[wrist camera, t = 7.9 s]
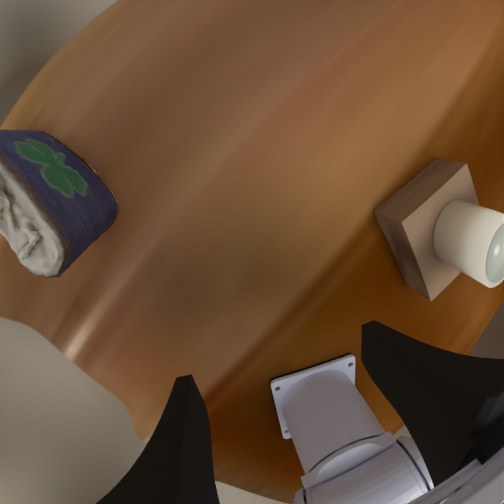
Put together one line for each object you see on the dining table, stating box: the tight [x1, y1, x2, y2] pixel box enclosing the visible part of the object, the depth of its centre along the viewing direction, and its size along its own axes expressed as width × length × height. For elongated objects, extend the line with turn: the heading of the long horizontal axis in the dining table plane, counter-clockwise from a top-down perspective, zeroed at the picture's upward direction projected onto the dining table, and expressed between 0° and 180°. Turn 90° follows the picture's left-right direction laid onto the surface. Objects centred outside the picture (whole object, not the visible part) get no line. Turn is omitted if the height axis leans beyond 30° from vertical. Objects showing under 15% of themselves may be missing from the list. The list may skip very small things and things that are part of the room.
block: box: [373, 159, 479, 301], centre depth 21 cm, size 8×8×4 cm
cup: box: [433, 200, 504, 288], centre depth 17 cm, size 5×5×5 cm
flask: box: [0, 130, 119, 278], centre depth 12 cm, size 9×3×11 cm, turn 45°
